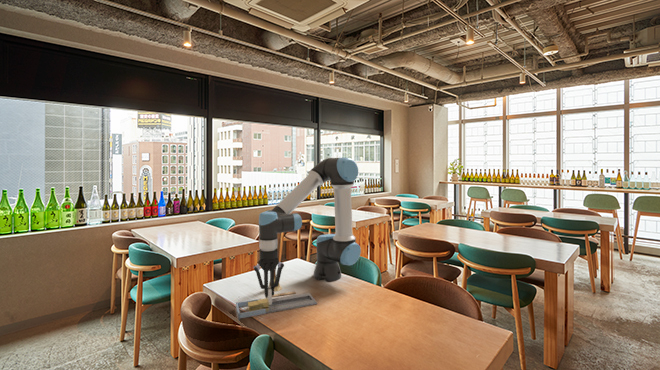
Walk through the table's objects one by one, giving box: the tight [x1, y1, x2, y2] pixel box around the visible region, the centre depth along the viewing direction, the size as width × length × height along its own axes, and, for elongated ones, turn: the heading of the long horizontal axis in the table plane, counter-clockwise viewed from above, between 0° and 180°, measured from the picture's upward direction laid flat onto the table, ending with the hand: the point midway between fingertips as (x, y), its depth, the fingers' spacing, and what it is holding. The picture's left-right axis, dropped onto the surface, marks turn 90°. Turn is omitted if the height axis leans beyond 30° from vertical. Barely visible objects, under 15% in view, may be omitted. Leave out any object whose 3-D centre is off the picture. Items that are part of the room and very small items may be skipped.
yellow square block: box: [257, 297, 269, 310], centre depth 131 cm, size 4×4×3 cm
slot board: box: [265, 292, 318, 315], centre depth 135 cm, size 22×11×2 cm, turn 112°
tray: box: [235, 298, 266, 322], centre depth 129 cm, size 11×11×3 cm
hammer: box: [272, 291, 297, 298], centre depth 144 cm, size 13×5×2 cm, turn 110°
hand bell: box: [268, 267, 283, 293], centre depth 151 cm, size 8×8×16 cm
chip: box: [247, 301, 259, 312], centre depth 130 cm, size 4×4×3 cm
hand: (269, 303), depth 132 cm, fingers closed
